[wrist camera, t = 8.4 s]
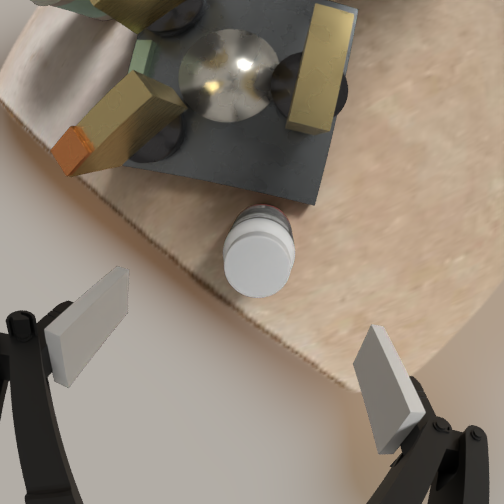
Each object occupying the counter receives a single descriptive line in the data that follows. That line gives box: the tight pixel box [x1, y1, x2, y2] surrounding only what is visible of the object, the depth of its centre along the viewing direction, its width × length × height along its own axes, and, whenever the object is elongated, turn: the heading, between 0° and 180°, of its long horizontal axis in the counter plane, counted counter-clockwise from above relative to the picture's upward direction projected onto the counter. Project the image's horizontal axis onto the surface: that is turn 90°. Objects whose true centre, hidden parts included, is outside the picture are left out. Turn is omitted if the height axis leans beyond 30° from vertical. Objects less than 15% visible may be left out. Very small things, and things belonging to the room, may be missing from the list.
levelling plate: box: [122, 0, 358, 206], centre depth 25 cm, size 20×20×3 cm
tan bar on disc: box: [50, 70, 188, 177], centre depth 22 cm, size 8×6×11 cm
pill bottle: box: [223, 204, 295, 298], centre depth 27 cm, size 6×6×10 cm
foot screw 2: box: [270, 3, 354, 136], centre depth 20 cm, size 8×6×10 cm
